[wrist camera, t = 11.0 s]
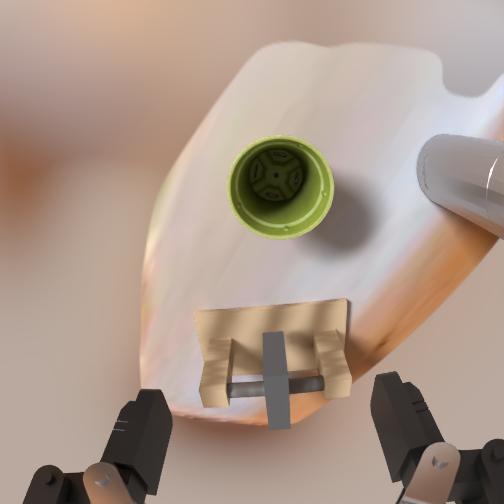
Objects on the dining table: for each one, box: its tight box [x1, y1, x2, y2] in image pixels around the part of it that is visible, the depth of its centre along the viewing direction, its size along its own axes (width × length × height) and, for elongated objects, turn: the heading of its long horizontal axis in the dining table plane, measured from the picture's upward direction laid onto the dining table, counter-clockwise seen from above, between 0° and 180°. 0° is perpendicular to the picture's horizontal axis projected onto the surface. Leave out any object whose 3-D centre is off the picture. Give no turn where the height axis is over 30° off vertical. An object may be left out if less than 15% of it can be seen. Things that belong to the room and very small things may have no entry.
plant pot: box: [227, 135, 334, 240], centre depth 32 cm, size 9×9×9 cm
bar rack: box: [193, 298, 352, 408], centre depth 38 cm, size 20×11×11 cm, turn 96°
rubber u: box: [262, 331, 291, 430], centre depth 36 cm, size 2×9×8 cm, turn 6°
